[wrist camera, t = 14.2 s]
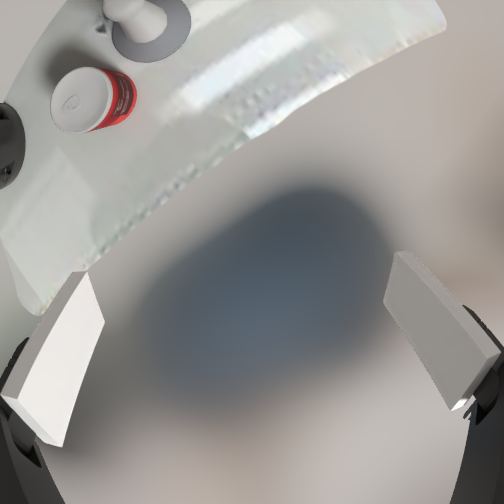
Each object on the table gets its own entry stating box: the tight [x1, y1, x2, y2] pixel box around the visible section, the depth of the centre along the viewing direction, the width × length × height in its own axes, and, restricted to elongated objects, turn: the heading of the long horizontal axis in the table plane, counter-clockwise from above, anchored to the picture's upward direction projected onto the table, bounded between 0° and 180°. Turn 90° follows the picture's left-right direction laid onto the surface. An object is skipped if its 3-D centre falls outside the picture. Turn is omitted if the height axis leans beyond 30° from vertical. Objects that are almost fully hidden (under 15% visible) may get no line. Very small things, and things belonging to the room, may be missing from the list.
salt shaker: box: [102, 0, 167, 43], centre depth 23 cm, size 6×6×13 cm
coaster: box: [113, 0, 191, 63], centre depth 29 cm, size 11×11×1 cm
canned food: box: [50, 67, 137, 134], centre depth 29 cm, size 8×8×11 cm
